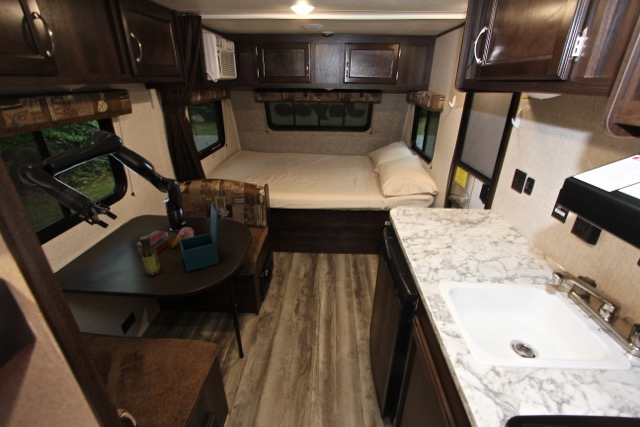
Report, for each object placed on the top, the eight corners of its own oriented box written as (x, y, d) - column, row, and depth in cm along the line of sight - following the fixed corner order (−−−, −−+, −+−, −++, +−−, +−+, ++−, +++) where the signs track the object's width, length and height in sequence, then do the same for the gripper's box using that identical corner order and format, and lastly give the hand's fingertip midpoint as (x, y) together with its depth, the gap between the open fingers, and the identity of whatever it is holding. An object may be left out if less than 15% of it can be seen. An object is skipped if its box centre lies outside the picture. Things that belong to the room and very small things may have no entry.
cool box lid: (216, 212, 141) (227, 212, 144) (211, 203, 151) (221, 203, 154) (215, 242, 147) (225, 241, 150) (209, 232, 157) (220, 231, 160)
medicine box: (157, 242, 171) (154, 230, 167) (170, 243, 170) (167, 231, 166) (139, 256, 157) (136, 243, 154) (153, 257, 156) (150, 244, 153)
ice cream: (175, 251, 159) (197, 233, 165) (163, 239, 160) (186, 221, 166) (180, 256, 169) (201, 238, 175) (169, 244, 170) (190, 227, 176)
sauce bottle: (162, 273, 144) (152, 238, 135) (148, 277, 140) (137, 242, 132) (160, 267, 148) (150, 233, 140) (146, 271, 145) (135, 236, 137)
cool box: (186, 271, 145) (182, 251, 140) (183, 259, 155) (179, 239, 150) (219, 263, 152) (216, 243, 147) (213, 251, 162) (210, 232, 157)
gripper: (69, 200, 116) (109, 223, 123) (88, 188, 129) (123, 210, 136) (59, 213, 118) (99, 235, 125) (78, 199, 130) (114, 221, 137)
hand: (111, 222), depth 130 cm, fingers open, 8 cm apart
